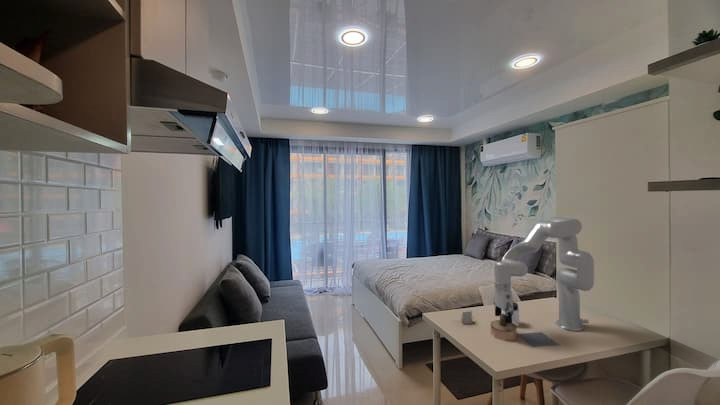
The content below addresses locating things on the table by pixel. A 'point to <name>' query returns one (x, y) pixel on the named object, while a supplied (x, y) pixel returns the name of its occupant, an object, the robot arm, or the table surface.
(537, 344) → the mat
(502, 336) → the bowl
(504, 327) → the lid
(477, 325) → the table surface
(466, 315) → the architectural model
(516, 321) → the jar
